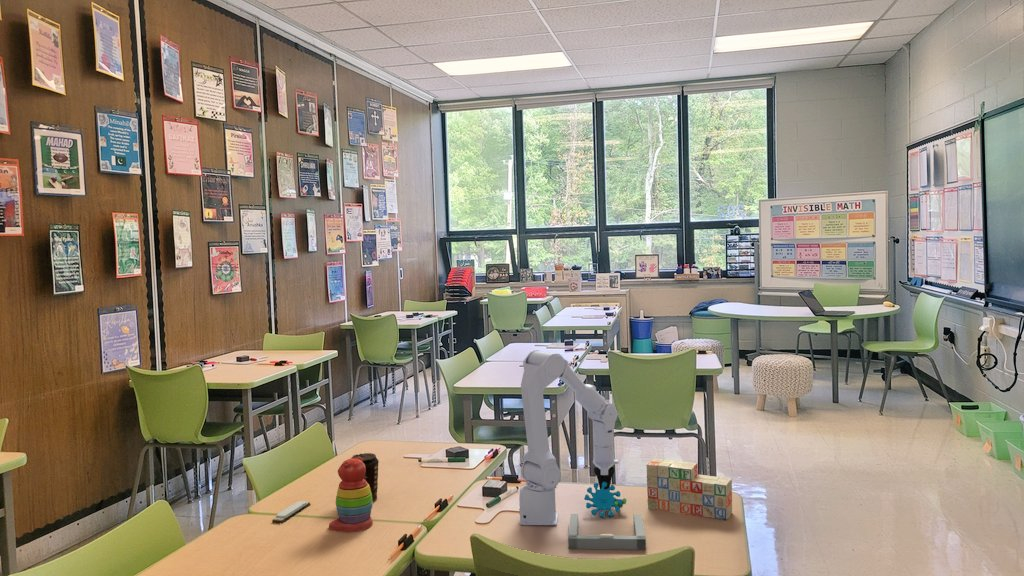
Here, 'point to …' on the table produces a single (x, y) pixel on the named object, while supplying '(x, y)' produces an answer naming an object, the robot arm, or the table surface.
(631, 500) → the table surface
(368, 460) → the coffee cup
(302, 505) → the harmonica
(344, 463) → the stacking bear
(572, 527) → the gear frame
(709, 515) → the stack of blocks
